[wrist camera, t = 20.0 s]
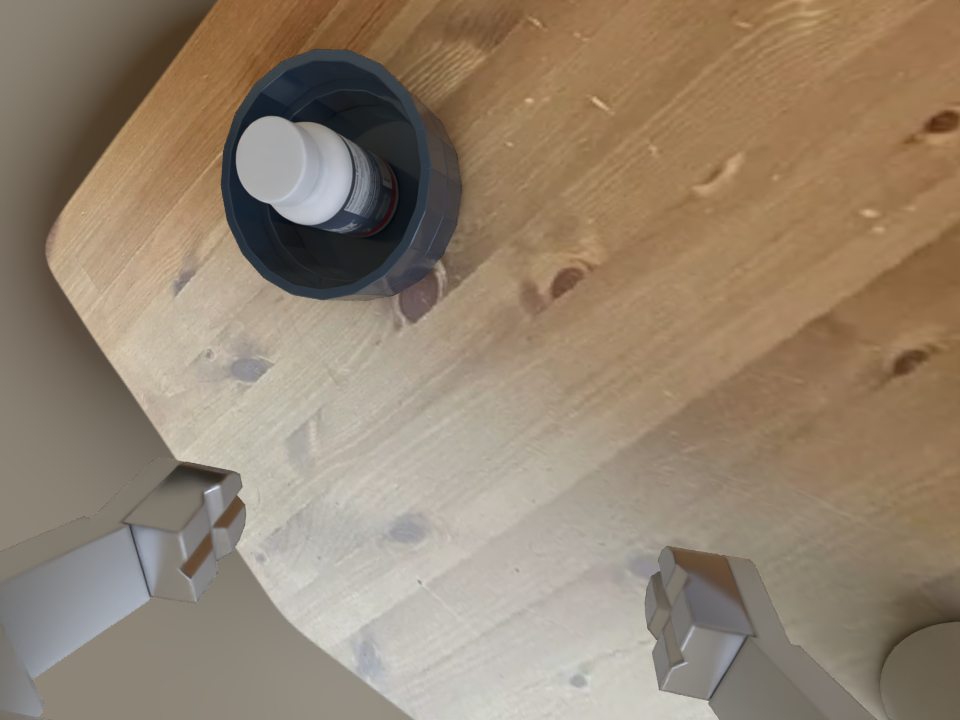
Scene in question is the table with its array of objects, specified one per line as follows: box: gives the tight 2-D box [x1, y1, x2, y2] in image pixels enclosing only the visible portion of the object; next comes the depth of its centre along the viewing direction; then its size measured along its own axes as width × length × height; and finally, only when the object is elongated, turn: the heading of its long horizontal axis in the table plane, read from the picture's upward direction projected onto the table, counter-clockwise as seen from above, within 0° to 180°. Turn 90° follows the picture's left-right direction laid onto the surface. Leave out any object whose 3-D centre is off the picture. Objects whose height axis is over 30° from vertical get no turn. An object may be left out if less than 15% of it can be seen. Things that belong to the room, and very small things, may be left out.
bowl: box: [221, 49, 462, 301], centre depth 31 cm, size 13×13×6 cm
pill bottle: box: [236, 116, 399, 237], centre depth 28 cm, size 5×5×9 cm
